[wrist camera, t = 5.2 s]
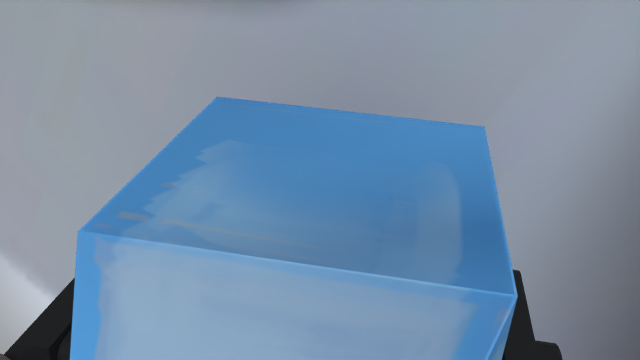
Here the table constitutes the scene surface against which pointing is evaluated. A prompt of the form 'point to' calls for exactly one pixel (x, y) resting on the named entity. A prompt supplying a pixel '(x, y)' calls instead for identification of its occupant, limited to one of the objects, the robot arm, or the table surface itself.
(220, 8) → the table surface
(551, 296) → the table surface
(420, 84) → the table surface
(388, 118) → the perfume bottle
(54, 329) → the robot arm
